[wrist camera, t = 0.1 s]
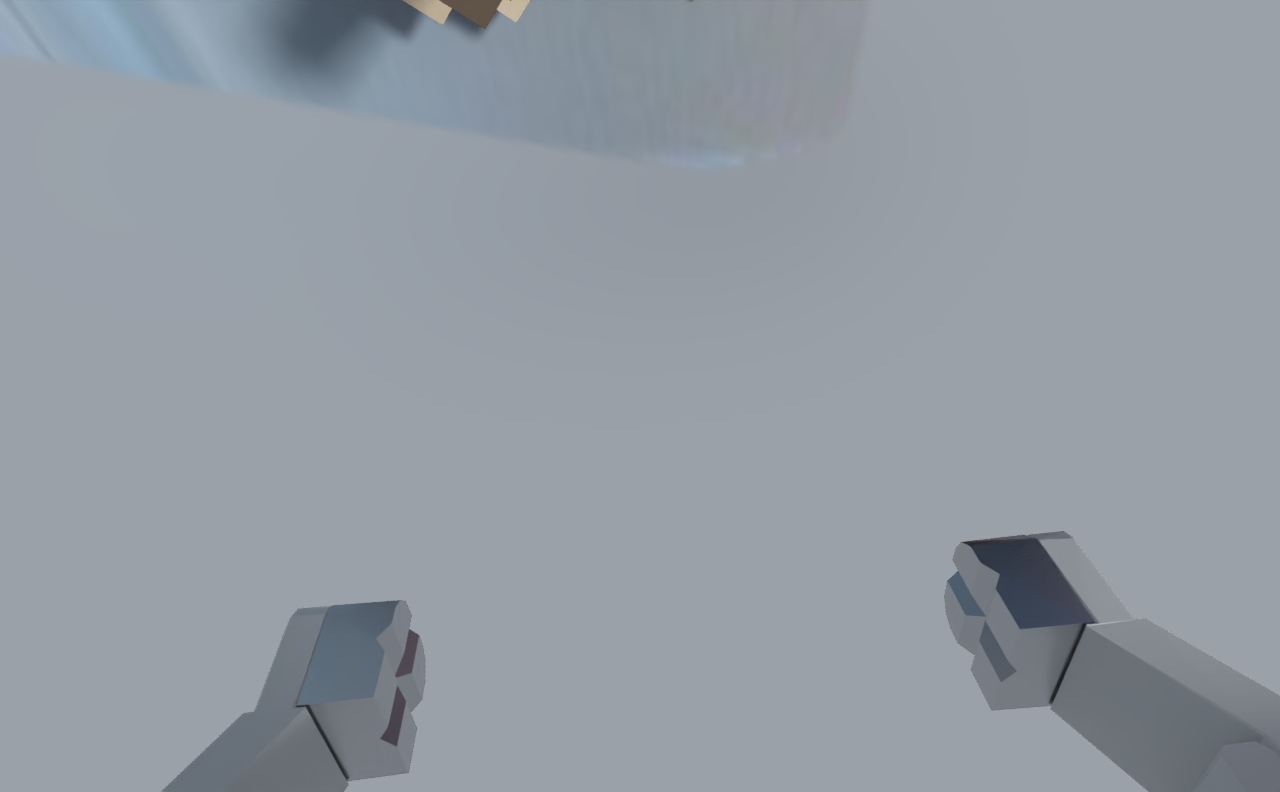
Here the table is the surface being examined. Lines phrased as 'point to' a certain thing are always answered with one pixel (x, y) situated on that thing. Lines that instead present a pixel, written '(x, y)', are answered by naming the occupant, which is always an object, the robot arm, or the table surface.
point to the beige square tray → (432, 7)
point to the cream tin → (475, 9)
